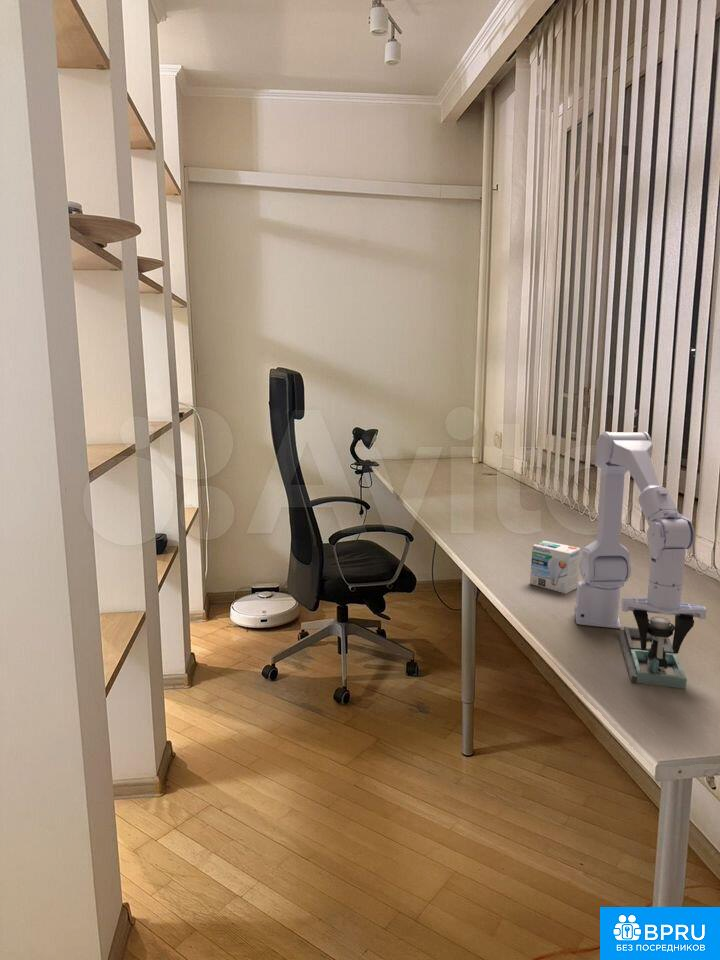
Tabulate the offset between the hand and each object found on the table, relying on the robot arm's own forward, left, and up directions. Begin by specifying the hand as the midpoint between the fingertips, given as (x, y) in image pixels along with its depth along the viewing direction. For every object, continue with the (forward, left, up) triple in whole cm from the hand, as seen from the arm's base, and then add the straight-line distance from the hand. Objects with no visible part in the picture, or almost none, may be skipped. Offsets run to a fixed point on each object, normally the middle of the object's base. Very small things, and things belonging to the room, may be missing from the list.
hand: (658, 649), depth 133 cm
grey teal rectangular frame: (0, +6, -5) cm, 7 cm away
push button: (0, +1, -5) cm, 5 cm away
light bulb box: (-18, +46, -5) cm, 50 cm away
